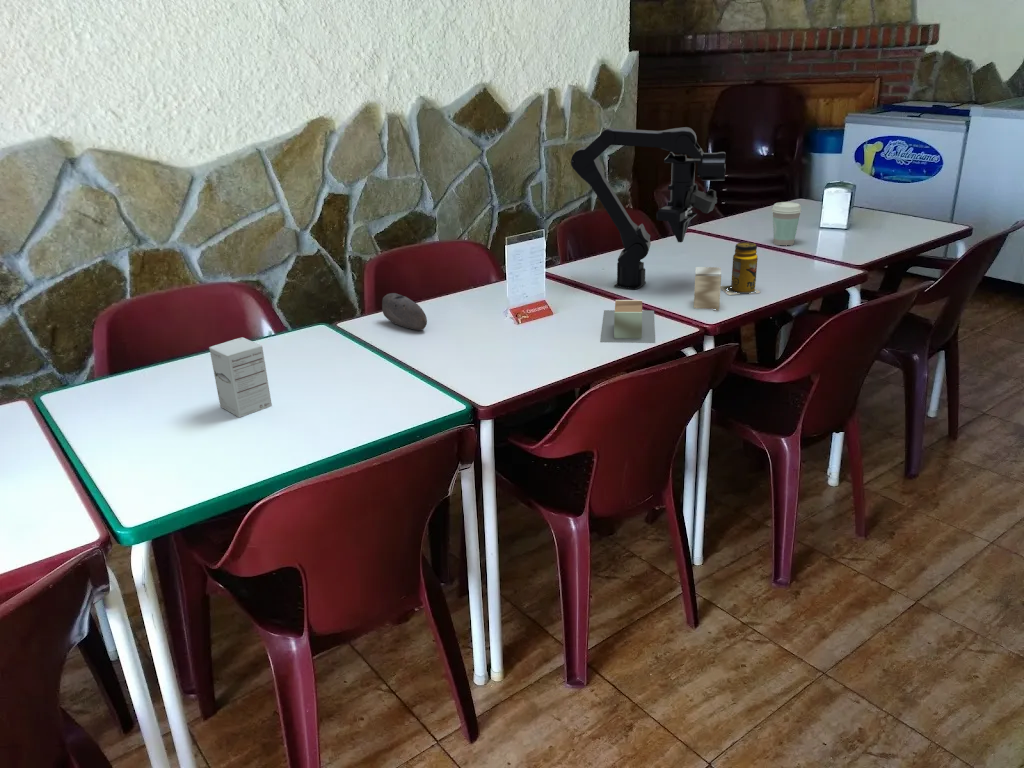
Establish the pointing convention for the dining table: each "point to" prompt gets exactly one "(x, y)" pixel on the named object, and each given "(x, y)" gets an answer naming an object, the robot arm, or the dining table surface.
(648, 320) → the mat
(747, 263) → the condiment
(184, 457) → the dining table surface
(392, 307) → the perforated stone tool
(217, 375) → the supplement box
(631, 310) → the small carton
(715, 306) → the beech block
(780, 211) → the coffee cup
